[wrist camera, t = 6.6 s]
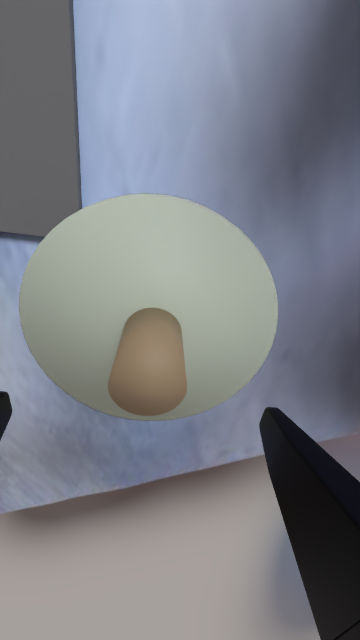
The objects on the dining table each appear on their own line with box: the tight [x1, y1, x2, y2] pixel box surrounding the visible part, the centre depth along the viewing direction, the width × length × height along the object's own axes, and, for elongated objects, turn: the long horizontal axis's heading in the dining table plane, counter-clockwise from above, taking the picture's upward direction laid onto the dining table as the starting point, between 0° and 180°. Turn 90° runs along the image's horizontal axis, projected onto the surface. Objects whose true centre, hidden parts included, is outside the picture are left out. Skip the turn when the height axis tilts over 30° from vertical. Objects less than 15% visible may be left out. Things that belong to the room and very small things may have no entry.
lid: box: [19, 193, 278, 421], centre depth 12 cm, size 13×13×5 cm
